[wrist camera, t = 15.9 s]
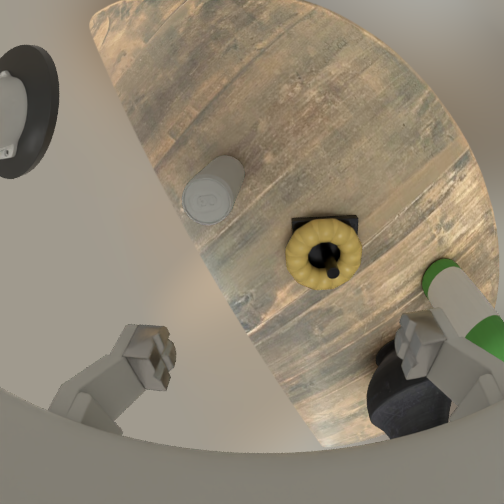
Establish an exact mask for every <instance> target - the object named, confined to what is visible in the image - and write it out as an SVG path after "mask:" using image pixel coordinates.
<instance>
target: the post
mask: <svg viewBox="0 0 504 504" xmlns="http://www.w3.org/2000/svg"><path fill="white" fill-rule="evenodd" d="M330 218H333V219H337V220H339V221H341V222H343V223H345V224H347V225H349V226H350V227H352V228H353V229H354V231H355V233H356V234H358V217H357V216H356V215H347V216H326V217H307V218H292V235H293V234H294V232H295V231H296V230H297V229H298V228H300V227H302V226H303V225H305V224H307V223H308V222H310V221H312V220H315V219H330ZM339 258H340V249H339V248H338V246H337V245H335V244H333V243H331V242H323V243H319V244H317V245H316V246H314V247H312V249H311V250H310V252H309V254H308V261H309V262H310V264H311V265H312V266H314V267H316V268H319V269H320V268H325V270H326V273H327V276H328V277H329V278H330V279H335V278H337V277H338V276H339V274H340V271H339V268H338V265H337V263H336V262H337V261H338V259H339Z"/></svg>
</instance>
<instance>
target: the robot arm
mask: <svg viewBox="0 0 504 504" xmlns="http://www.w3.org/2000/svg"><path fill="white" fill-rule="evenodd" d="M26 116H27V94H26V90H25V87H24V85H23V83H22V81H21V80H20V79H18V78H16V77H12V76H11V75H10V73H9V72H8V71H7V70H6V71H2V72H1V73H0V159H5V158H11V157H14V156H15V155H16V151H17V145H18V140H19V138H20V136H21V134H22V131H23V129H24V125H25V122H26ZM400 324H401V327H400V328H399V329H398V330H397V332H396V336H395V350H396V353H397V356H398V357H399V358H401V359H402V360H403V362H402V365H401V367H402V370H403V372H404V375H405V378H406V380H410V379H415V378H420V377H424V376H427V378H428V379H429V380H430V381H431V382H432V383H433V384H435V385H436V386H437V387H438V388H439V389H440V390H441V391H442V392H443V393H444V394H445V395H446V396H448V397H449V398H450V399H451V400H452V401H453V402H454V403H455V404H456V405H457V406H458V407H457V408H456V409H455V410H454V412H453V413H452V414H451V416H450V418H449V420H450V422H449V423H446V424H443V425H440V426H437V427H434V428H431V429H428V430H424V431H421V432H417V433H414V434H410V435H406V436H402V437H398V438H394V439H390V440H386V441H381V442H376V443H371V444H365V445H360V446H353V447H347V448H340V449H332V450H322V451H312V452H296V453H232V452H218V451H207V450H198V449H190V448H182V447H176V446H169V445H164V444H158V443H153V442H148V441H143V440H139V439H134V438H130V437H126V436H122V434H123V431H122V429H121V428H120V427H119V426H118V425H117V424H116V423H115V422H114V420H116V419H117V418H118V417H119V416H120V415H121V414H122V412H124V411H125V410H126V409H127V408H128V407H129V406H130V405H131V404H132V403H133V402H134V401H135V400H136V399H137V398H138V397H139V396H140V395H141V394H142V393H143V392H144V391H145V389H148V390H157V391H166V390H167V387H168V384H169V381H170V378H171V377H170V374H169V371H170V370H171V369H172V368H174V366H175V362H176V350H175V346H174V343H173V342H172V341H170V340H169V339H168V338H169V335H170V333H169V331H168V329H167V328H166V327H165V326H153V325H135V324H134V325H133V324H128V325H126V326H125V328H124V330H123V331H122V333H121V335H120V337H119V338H118V340H117V342H116V344H115V346H114V347H113V349H112V351H111V353H110V355H105V356H103V357H102V358H100V359H99V360H98V361H96V362H95V363H93V364H92V365H90V366H89V367H87V368H86V369H84V370H83V371H81V372H80V373H78V374H77V375H75V376H74V377H73V378H71V379H70V380H68V381H66V382H65V383H64V384H62V385H61V387H60V388H59V390H58V392H57V394H56V396H55V397H54V399H53V401H52V403H51V405H50V407H49V409H48V410H45V409H43V408H41V407H38V406H36V405H34V404H32V403H30V402H28V401H26V400H23V399H21V398H19V397H17V396H15V395H13V394H12V393H10V392H8V391H6V390H4V389H3V388H1V387H0V504H504V362H503V361H501V360H500V359H498V358H497V357H495V356H493V355H492V354H490V353H489V352H487V351H485V350H484V349H482V348H481V347H479V346H477V345H476V344H474V343H472V342H471V341H469V340H467V339H466V338H464V337H459V336H458V334H457V332H456V331H455V329H454V327H453V326H452V324H451V323H450V321H449V319H448V318H447V316H446V315H445V313H444V312H443V310H442V309H441V308H439V307H437V308H432V309H427V310H421V311H415V312H408V313H403V314H402V316H401V318H400Z"/></svg>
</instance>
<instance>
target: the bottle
mask: <svg viewBox="0 0 504 504" xmlns="http://www.w3.org/2000/svg"><path fill="white" fill-rule="evenodd" d="M422 288H423V291H424V293H425V295H426V297H427V298H428V300H429V302H430V303H431V305H432V306H433V308H437V307H439V308H441V309H442V310H443V312H444V313H445V315H446V316H447V318H448V319H449V321H450V323H451V324H452V326H453V327H454V329H455V331H456V332H457V334H458V336H459V337H464V338H466V339H467V340H469V341H471V342H472V343H474V344H476V345H477V346H479V347H481V348H482V349H484V350H485V351H487V352H489V353H490V354H492V355H493V356H495V357H497V358H498V359H500V360H501V361H503V362H504V322H503V320H502V319H501V318H500V316H499V315H498V313H497V312H496V311H495V309H494V308H493V307H492V305H491V304H490V303H489V301H488V300H487V299H486V298H485V296H484V295H483V294H482V293H481V291H480V290H479V289H478V288H477V286H476V285H475V284H474V283H473V282H472V280H471V279H470V278H469V277H468V276H467V275H466V273H465V272H464V271H463V270H462V269H461V268H460V267H459V266H458V265H457V264H456V263H455V262H454V261H452V260H450V259H440V260H438V261H436V262H434V263H433V264H432V265H431V266H430V267H429V268H428V269H427V271H426V272H425V274H424V276H423V281H422Z"/></svg>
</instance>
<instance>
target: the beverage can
mask: <svg viewBox="0 0 504 504" xmlns="http://www.w3.org/2000/svg"><path fill="white" fill-rule="evenodd" d="M244 177H245V171H244V167H243V165H242V164H241V163H240V162H239V161H238V160H237V159H235V158H234V157H231V156H226V155H223V156H218V157H217V158H215V159H213V160H212V161H211V162H210V163H209V164H208V165H207V166H205V167H204V168H203V169H202V170H201V171H200V172H199V173H198V174H196V175H195V176H194V177H193V178H192V179H191V180H190V181H189V182H188V183H187V185H186V187H185V189H184V191H183V195H182V205H183V208H184V211H185V212H186V214H187V215H188V217H190V218H191V219H192V220H193V221H195V222H197V223H199V224H202V225H213V224H217V223H219V222H221V221H222V220H223V219H225V218H226V217H227V216H228V215H229V213H230V212H231V210H232V208H233V206H234V203H235V201H236V198H237V196H238V193H239V190H240V188H241V185H242V183H243V180H244Z"/></svg>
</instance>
